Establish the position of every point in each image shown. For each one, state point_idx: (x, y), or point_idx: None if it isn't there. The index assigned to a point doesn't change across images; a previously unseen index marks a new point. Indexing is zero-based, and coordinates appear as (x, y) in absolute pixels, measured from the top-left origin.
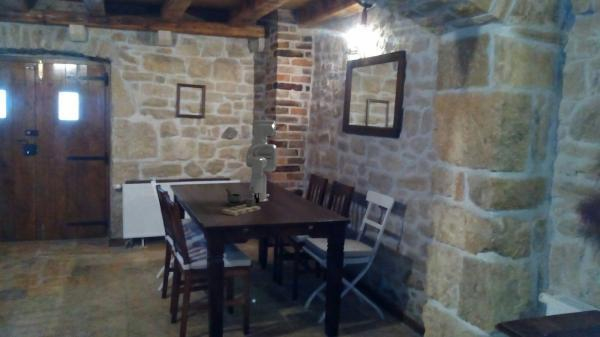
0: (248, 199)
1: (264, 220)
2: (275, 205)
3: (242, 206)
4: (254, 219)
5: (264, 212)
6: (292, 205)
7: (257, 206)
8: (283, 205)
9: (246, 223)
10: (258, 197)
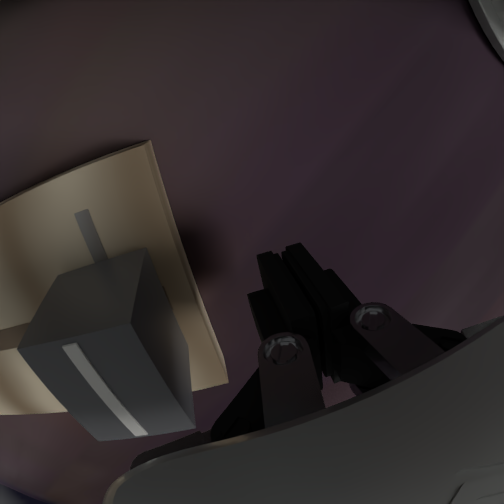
0: (55, 395)
1: (88, 500)
2: (467, 262)
3: (6, 281)
4: (47, 480)
5: (176, 439)
6: (499, 314)
7: (193, 373)
8: (486, 291)
9: (8, 482)
10: (333, 373)
